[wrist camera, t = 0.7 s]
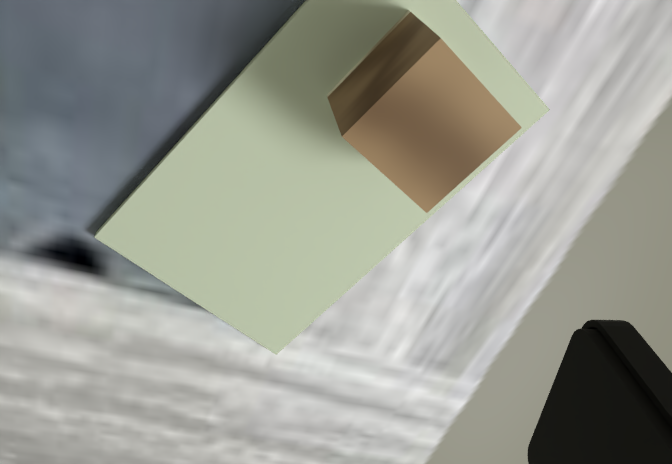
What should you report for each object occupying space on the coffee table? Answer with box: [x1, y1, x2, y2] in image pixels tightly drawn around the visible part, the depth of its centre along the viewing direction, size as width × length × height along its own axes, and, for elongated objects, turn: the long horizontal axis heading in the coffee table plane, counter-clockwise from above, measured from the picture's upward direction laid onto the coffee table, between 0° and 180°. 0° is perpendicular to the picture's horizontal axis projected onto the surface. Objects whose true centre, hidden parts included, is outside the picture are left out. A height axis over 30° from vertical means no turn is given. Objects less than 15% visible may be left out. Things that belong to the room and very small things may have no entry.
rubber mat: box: [94, 0, 549, 354], centre depth 36 cm, size 23×14×1 cm, turn 135°
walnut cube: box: [327, 10, 522, 213], centre depth 32 cm, size 6×6×6 cm
